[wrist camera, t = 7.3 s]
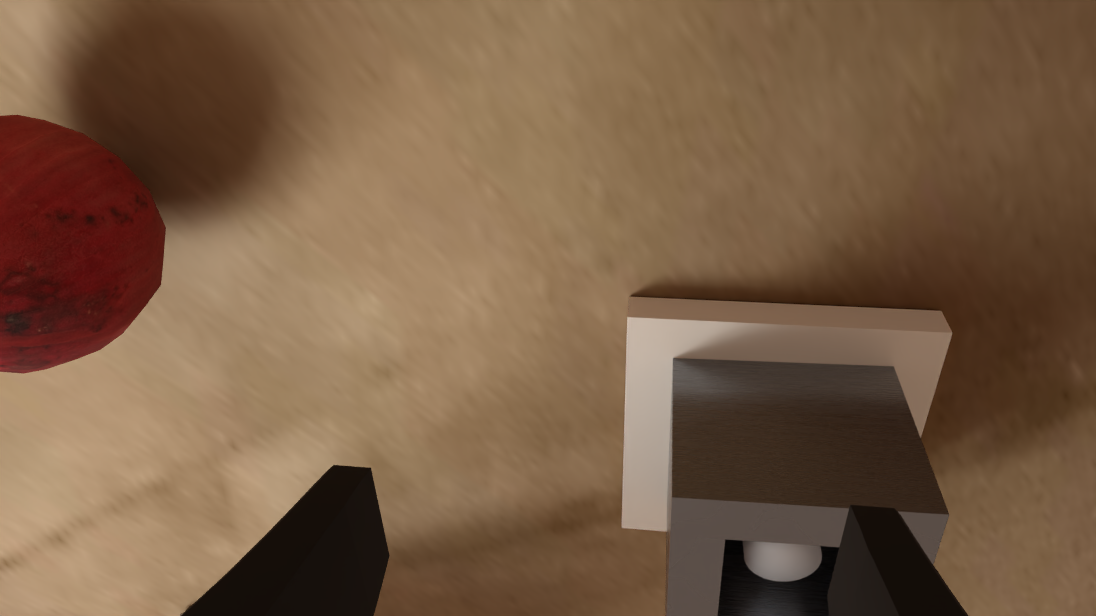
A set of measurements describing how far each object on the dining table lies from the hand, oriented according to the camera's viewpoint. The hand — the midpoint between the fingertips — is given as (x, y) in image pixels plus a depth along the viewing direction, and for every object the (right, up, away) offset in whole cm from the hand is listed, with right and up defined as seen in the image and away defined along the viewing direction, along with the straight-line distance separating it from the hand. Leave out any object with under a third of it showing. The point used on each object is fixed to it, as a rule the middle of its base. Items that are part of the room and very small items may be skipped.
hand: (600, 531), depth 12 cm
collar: (+5, 0, +10) cm, 11 cm away
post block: (+5, 0, +11) cm, 12 cm away
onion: (-13, +7, +10) cm, 17 cm away
